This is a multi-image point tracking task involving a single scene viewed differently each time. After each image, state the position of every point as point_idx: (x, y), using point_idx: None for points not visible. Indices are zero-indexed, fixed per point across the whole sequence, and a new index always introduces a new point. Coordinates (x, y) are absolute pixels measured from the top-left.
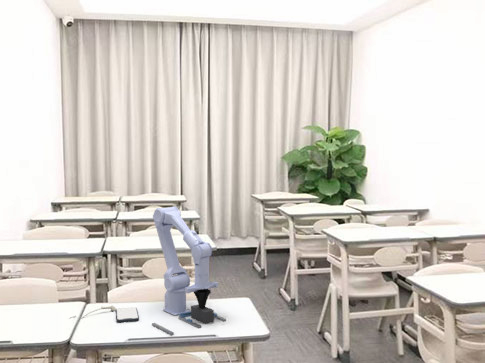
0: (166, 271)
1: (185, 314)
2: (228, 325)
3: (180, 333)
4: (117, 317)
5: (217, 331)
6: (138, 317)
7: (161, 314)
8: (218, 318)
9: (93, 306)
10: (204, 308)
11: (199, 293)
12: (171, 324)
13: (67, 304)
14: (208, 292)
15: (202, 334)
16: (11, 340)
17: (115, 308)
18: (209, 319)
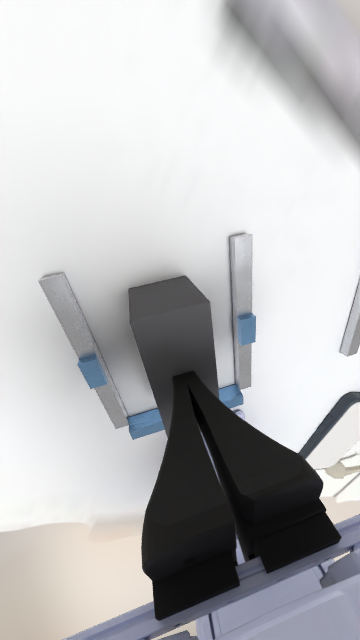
0: None
1: (219, 398)
2: (48, 176)
3: (349, 207)
4: None
5: (176, 89)
6: (349, 406)
7: (264, 427)
8: (83, 322)
9: (336, 485)
10: (176, 373)
11: (320, 479)
12: (300, 335)
13: (356, 494)
14: (189, 511)
15: (287, 102)
16: None
17: (327, 470)
18: (160, 289)
